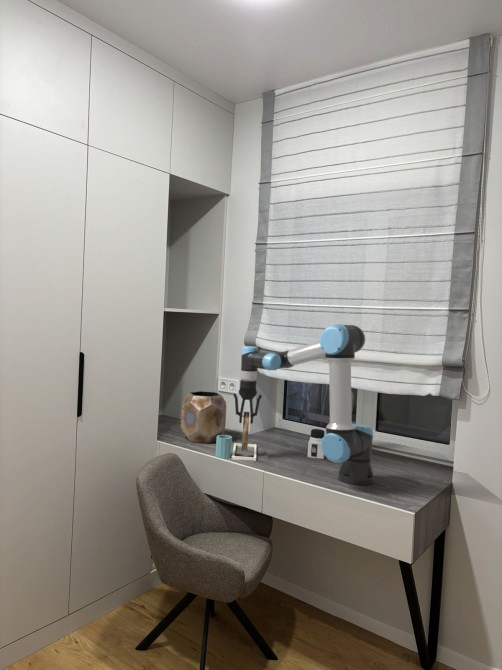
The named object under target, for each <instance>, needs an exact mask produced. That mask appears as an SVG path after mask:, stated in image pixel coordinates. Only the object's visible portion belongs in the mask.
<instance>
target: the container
mask: <svg viewBox="0 0 502 670" xmlns="http://www.w3.org/2000/svg"><path fill="white" fill-rule="evenodd" d="M325 434H326V431H325V430H323V429H321V428H313V429H311V430H310V437H309V440H308V442H307V443H308V445H307V458H311V459H321V460H324V459H325V457H326V456H325V455H324V454H323V452H322V449H321V441H322V438H323V437H324V436H325Z"/></svg>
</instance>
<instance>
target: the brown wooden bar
mask: <svg viewBox="0 0 502 670" xmlns="http://www.w3.org/2000/svg"><path fill="white" fill-rule="evenodd" d="M243 416H244V421H243V431H242V437H241V444H242V446H241V452H246V453H248V447H247V446H248V444H249V443H248V442H249V431H248V426H249V416H250V411H243Z"/></svg>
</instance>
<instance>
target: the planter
mask: <svg viewBox="0 0 502 670" xmlns="http://www.w3.org/2000/svg"><path fill="white" fill-rule="evenodd" d="M180 418H181V419H180V428H181V430H182V432H183V434H184V437H187V438H186V439H187V440H189V441H190V442H192V443H201V444H210V443H215V442H216V440H217V436H218V435H225V430H226V423H227V401H226V400H225V398H224V397H223V395H222V394H220V393H218V392H217V391H201V390H200V391H192V392H191V391H190V392H188V393H187V394H186V395H185V396H184V398H183V401H182V406H181V417H180Z"/></svg>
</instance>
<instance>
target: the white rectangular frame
mask: <svg viewBox="0 0 502 670" xmlns="http://www.w3.org/2000/svg"><path fill="white" fill-rule="evenodd" d="M237 447H242V442H241V443H236V442H234V443H233V447H232V452H231V460H239V461H255V462H256V461H257V444H256V443H255V444H254V443H248V446H247V448H253V449H254V450H253V451H254V452H253V457H251V456H237V455H235V454H236V449H237Z"/></svg>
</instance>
